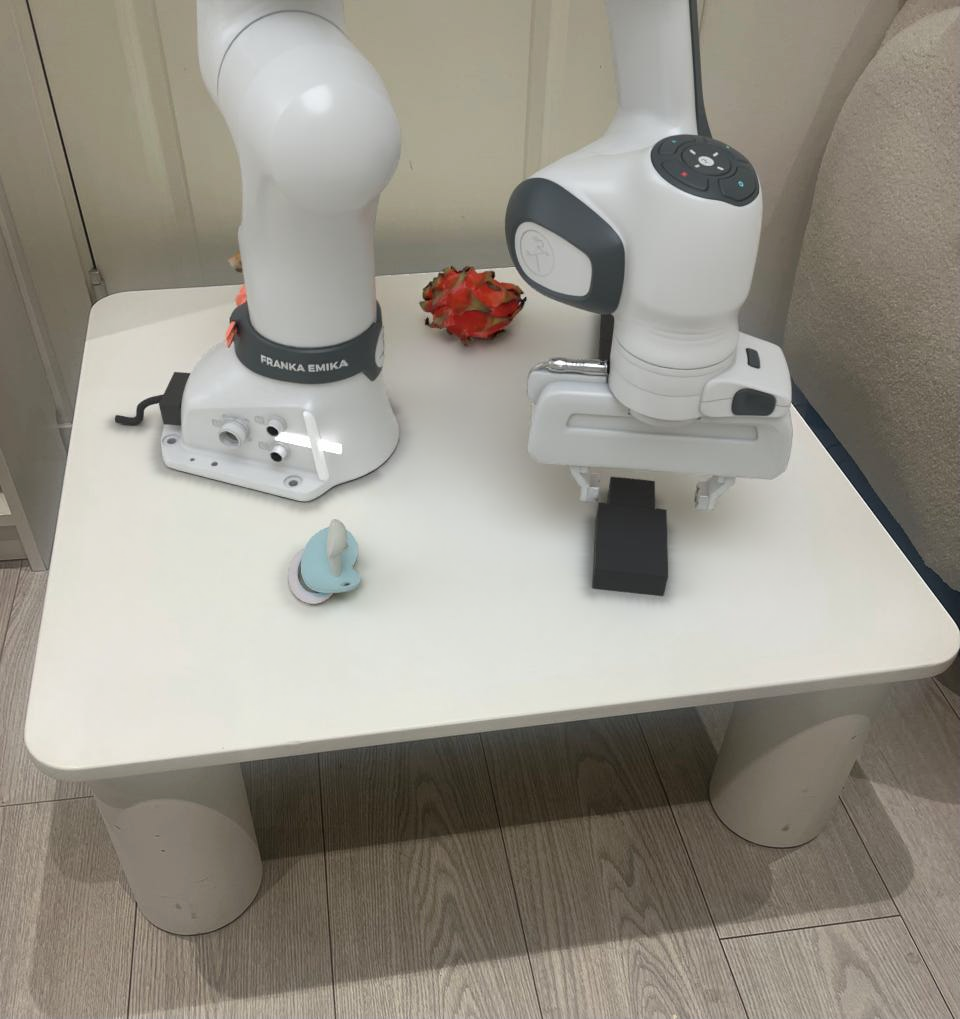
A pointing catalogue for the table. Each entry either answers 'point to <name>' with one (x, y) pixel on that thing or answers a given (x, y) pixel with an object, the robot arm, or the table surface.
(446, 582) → the table surface
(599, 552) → the pad
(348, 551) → the pacifier
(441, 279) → the dragon fruit
